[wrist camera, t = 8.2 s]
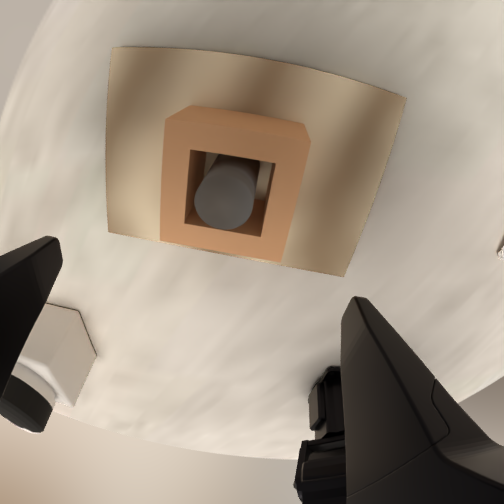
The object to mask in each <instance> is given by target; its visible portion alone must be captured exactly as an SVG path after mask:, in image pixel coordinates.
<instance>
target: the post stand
mask: <svg viewBox="0 0 504 504" xmlns="http://www.w3.org/2000/svg"><path fill="white" fill-rule="evenodd" d="M406 99H407V98H405V97H402V96H400V95H397V94H394V93H391V92H389V91H386V90H383V89H380V88H377V87H374V86H371V85H368V84H365V83H362V82H359V81H355V80H352V79H349V78H345V77H342V76H338V75H335V74H331V73H327V72H323V71H319V70H315V69H311V68H307V67H303V66H298V65H294V64H289V63H284V62H279V61H274V60H269V59H263V58H257V57H251V56H245V55H238V54H230V53H222V52H214V51H204V50H192V49H178V48H155V47H116V48H112V52H111V61H110V71H109V82H108V96H107V114H106V199H107V218H108V232H111V233H116V234H121V235H126V236H131V237H136V238H141V239H146V240H151V241H156V242H161V243H166V244H172V245H177V246H182V247H187V248H192V249H197V250H203V251H208V252H213V253H218V254H223V255H229V256H234V257H239V258H244V259H250V260H255V261H260V262H265V263H271V264H276V265H281V266H287V267H292V268H297V269H303V270H308V271H313V272H319V273H324V274H330V275H335V276H340V277H344V275H345V273H346V270H347V268H348V265H349V263H350V261H351V258H352V256H353V253H354V251H355V248H356V246H357V243H358V241H359V238H360V236H361V233H362V231H363V228H364V226H365V223H366V220H367V218H368V215H369V212H370V210H371V207H372V204H373V202H374V199H375V196H376V193H377V191H378V188H379V185H380V182H381V179H382V176H383V173H384V170H385V167H386V164H387V161H388V158H389V155H390V152H391V149H392V146H393V143H394V140H395V136H396V133H397V130H398V127H399V123H400V120H401V116H402V113H403V109H404V106H405V102H406ZM190 105H192V106H201V107H209V108H217V109H224V110H231V111H238V112H244V113H250V114H256V115H262V116H268V117H273V118H278V119H283V120H288V121H293V122H298V123H303V124H304V125H305V128H306V130H307V133H308V135H309V138H310V140H311V145H310V149H309V154H308V158H307V162H306V166H305V170H304V174H303V178H302V182H301V186H300V190H299V194H298V198H297V202H296V206H295V210H294V214H293V218H292V222H291V226H290V230H289V233H288V237H287V241H286V245H285V249H284V253H283V256H282V260H281V263H280V262H275V261H269V260H264V259H258V258H252V257H247V256H241V255H236V254H230V253H225V252H219V251H214V250H208V249H203V248H197V247H192V246H186V245H181V244H175V243H170V242H164V241H160V199H161V174H162V156H163V141H164V128H165V119H166V118H168V117H170V116H171V115H173V114H175V113H177V112H179V111H180V110H182V109H184V108H186V107H188V106H190ZM271 167H272V163H271V162H265V161H260V160H254V159H249V158H243V157H237V156H231V155H225V154H218V153H212V152H206V161H205V170H204V179H203V181H202V183H201V184H200V186H199V188H198V189H197V191H196V194H195V199H194V203H195V209H196V211H197V213H198V215H199V217H200V218H201V219H202V220H203V221H204V222H205V223H206V224H208V225H210V226H212V227H214V228H217V229H223V230H228V229H234V228H237V227H239V226H241V225H242V224H244V223H245V222H246V221H247V220H248V218H249V217H250V215H251V213H252V209H253V203H254V199H258V200H263V201H265V196H266V191H267V186H268V181H269V176H270V172H271Z"/></svg>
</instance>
